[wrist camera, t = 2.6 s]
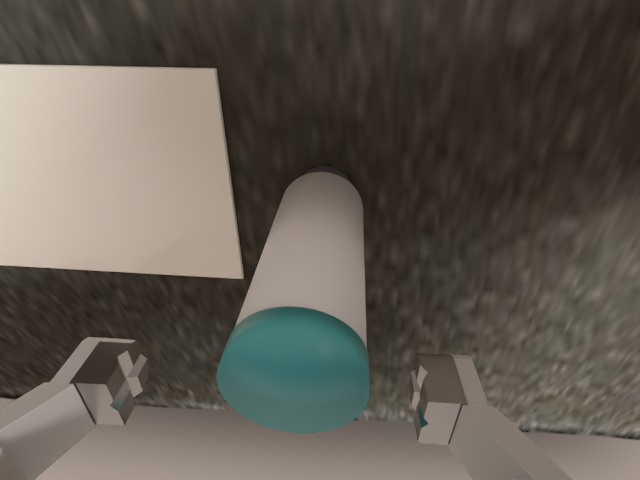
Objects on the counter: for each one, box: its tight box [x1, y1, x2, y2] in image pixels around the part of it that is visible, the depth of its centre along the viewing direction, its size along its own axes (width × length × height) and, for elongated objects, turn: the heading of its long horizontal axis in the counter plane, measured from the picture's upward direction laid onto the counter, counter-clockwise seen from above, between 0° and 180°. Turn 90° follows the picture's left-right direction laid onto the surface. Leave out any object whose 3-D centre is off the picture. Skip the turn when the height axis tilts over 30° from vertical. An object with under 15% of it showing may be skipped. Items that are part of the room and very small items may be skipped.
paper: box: [0, 64, 244, 279], centre depth 21 cm, size 18×12×1 cm, turn 89°
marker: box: [216, 166, 370, 433], centre depth 15 cm, size 4×4×12 cm
